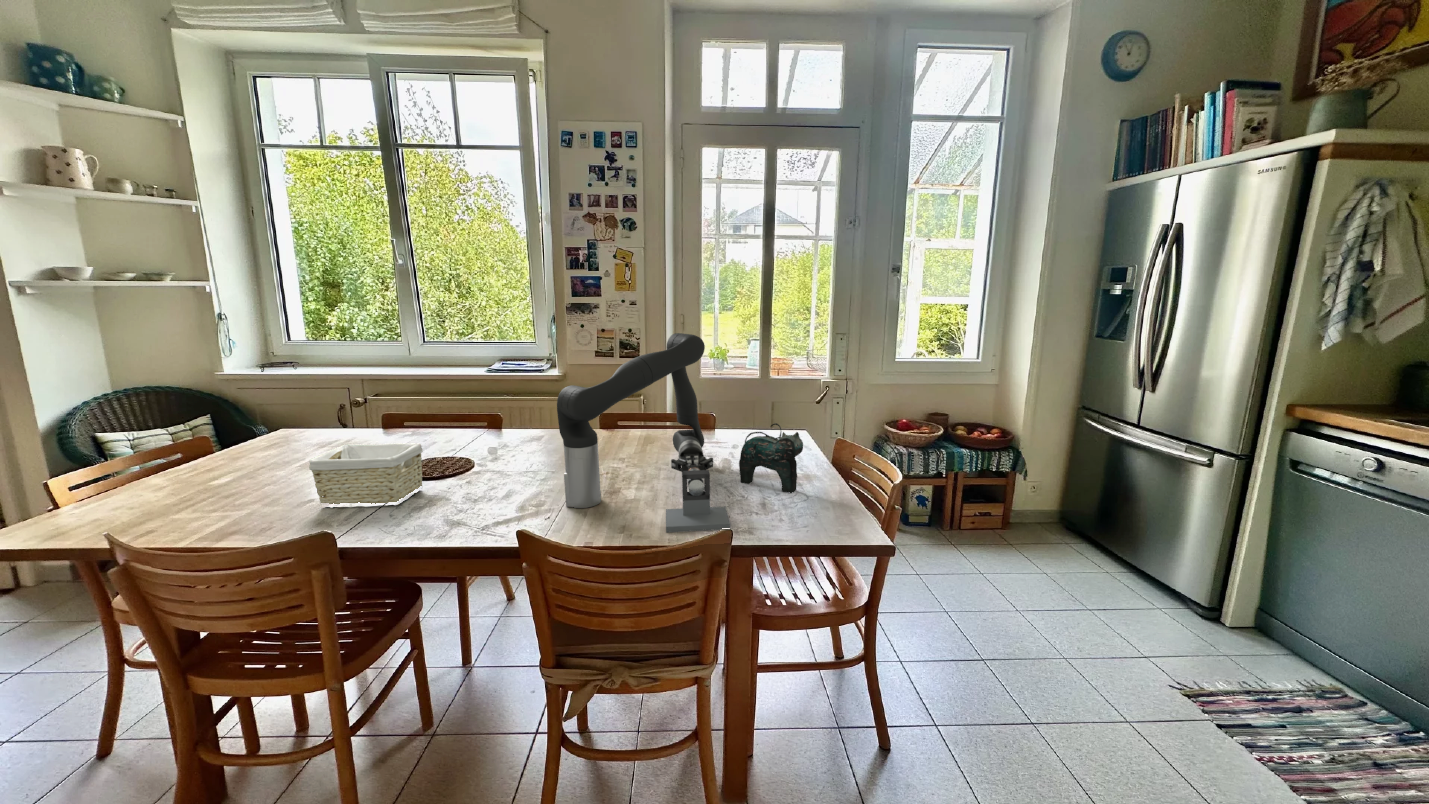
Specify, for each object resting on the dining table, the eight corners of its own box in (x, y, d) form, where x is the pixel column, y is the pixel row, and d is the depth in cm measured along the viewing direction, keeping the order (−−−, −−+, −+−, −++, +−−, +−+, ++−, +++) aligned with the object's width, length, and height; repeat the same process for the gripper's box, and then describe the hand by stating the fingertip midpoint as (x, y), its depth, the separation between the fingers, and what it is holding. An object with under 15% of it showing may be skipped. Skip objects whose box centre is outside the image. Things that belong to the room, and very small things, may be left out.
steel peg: (688, 496, 137) (688, 481, 137) (687, 481, 148) (686, 467, 147) (704, 495, 138) (704, 480, 137) (701, 480, 149) (701, 467, 148)
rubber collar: (682, 500, 139) (682, 474, 137) (682, 496, 142) (681, 470, 140) (710, 499, 139) (709, 473, 138) (709, 495, 142) (708, 469, 141)
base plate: (666, 532, 133) (665, 511, 132) (665, 514, 144) (665, 494, 143) (730, 529, 134) (730, 508, 133) (725, 511, 145) (725, 492, 144)
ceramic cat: (803, 490, 160) (804, 425, 156) (793, 497, 155) (795, 429, 151) (745, 477, 171) (746, 416, 167) (735, 484, 166) (734, 420, 162)
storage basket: (313, 510, 149) (304, 459, 146) (351, 489, 165) (343, 443, 162) (400, 509, 149) (393, 458, 146) (429, 488, 165) (423, 441, 162)
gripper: (668, 443, 164) (669, 460, 148) (712, 441, 166) (717, 459, 149) (669, 466, 166) (670, 486, 149) (712, 465, 167) (717, 484, 150)
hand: (694, 472), depth 149 cm, fingers closed
